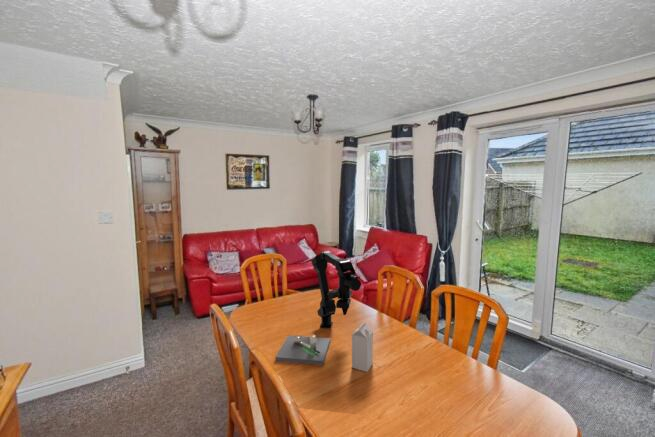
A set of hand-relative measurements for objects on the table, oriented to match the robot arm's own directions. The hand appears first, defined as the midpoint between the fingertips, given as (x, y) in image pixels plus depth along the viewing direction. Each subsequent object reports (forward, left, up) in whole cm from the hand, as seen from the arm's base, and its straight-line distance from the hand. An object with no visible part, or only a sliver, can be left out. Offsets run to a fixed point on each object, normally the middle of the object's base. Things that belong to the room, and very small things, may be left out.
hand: (344, 314), depth 153 cm
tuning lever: (+15, -17, -10) cm, 24 cm away
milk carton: (+22, +10, -13) cm, 28 cm away
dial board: (+14, -18, -13) cm, 26 cm away
